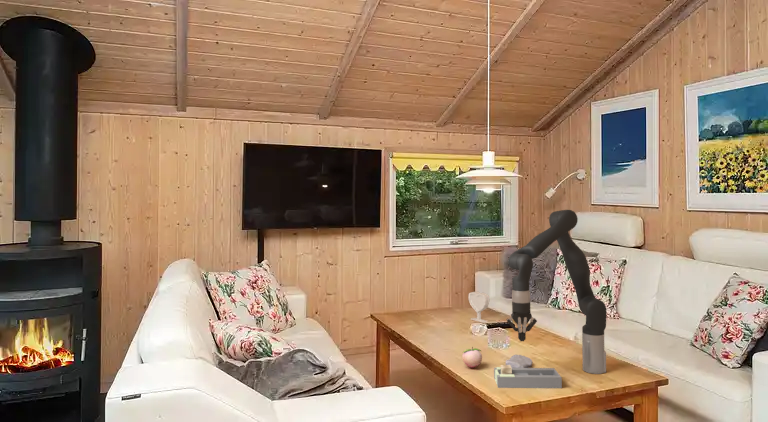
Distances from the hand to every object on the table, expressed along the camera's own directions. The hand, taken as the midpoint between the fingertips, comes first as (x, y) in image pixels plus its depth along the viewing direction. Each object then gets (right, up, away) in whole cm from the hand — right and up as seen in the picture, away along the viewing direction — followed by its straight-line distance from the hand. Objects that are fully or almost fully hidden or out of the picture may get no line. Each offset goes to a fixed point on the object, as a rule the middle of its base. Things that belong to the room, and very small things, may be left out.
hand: (521, 340), depth 215 cm
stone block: (+5, -18, +21) cm, 28 cm away
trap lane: (+2, -18, +1) cm, 18 cm away
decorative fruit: (-17, -18, +20) cm, 32 cm away
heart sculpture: (+3, -15, +111) cm, 112 cm away
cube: (-6, -15, +1) cm, 17 cm away
